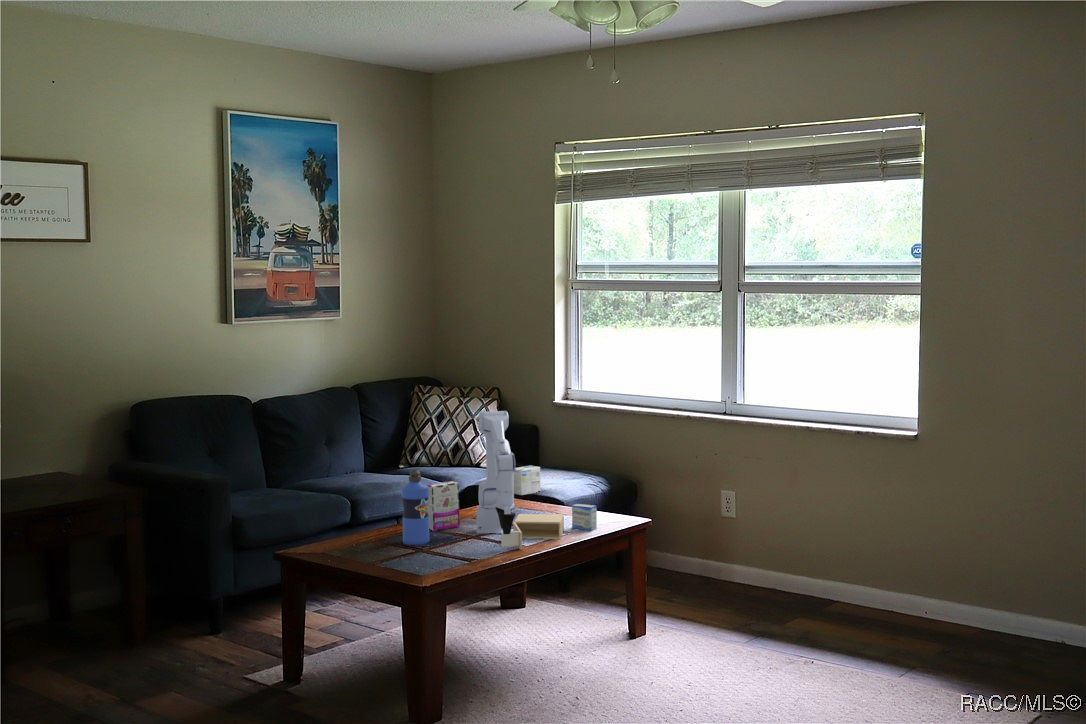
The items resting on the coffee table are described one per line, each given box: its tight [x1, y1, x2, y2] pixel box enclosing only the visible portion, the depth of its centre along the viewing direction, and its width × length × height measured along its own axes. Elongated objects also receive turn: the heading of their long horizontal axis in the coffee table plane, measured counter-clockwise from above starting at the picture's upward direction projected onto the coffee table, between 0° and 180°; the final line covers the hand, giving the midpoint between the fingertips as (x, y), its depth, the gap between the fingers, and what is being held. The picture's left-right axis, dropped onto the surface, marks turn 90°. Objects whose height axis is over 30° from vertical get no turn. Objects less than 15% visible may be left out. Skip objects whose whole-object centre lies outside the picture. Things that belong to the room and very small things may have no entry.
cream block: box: [500, 521, 523, 551], centre depth 359 cm, size 16×7×6 cm, turn 10°
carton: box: [513, 513, 565, 540], centre depth 374 cm, size 16×12×6 cm
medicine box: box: [571, 503, 598, 532], centre depth 382 cm, size 8×4×9 cm, turn 62°
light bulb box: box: [513, 465, 541, 496], centre depth 450 cm, size 11×7×11 cm, turn 130°
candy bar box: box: [426, 480, 461, 532], centre depth 385 cm, size 11×5×16 cm, turn 126°
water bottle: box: [400, 468, 430, 546], centre depth 365 cm, size 9×9×25 cm
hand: (505, 531), depth 353 cm, fingers open, 7 cm apart
